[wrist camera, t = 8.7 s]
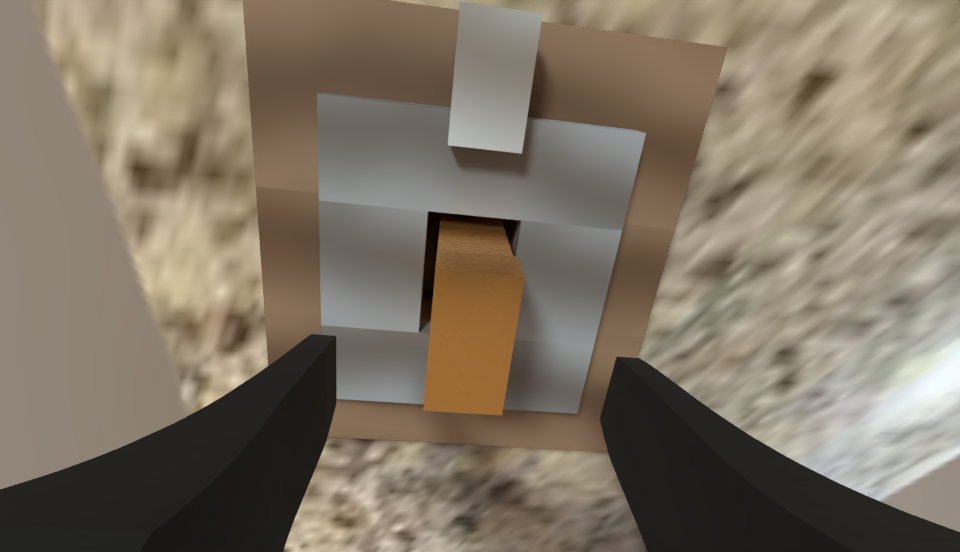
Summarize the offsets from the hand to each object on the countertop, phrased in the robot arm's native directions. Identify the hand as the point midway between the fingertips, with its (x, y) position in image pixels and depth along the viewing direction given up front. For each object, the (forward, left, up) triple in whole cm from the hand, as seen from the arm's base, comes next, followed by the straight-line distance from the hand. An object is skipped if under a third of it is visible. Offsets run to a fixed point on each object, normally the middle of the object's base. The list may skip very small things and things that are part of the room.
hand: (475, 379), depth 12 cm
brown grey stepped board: (0, 0, -9) cm, 9 cm away
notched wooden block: (0, 0, -9) cm, 9 cm away
